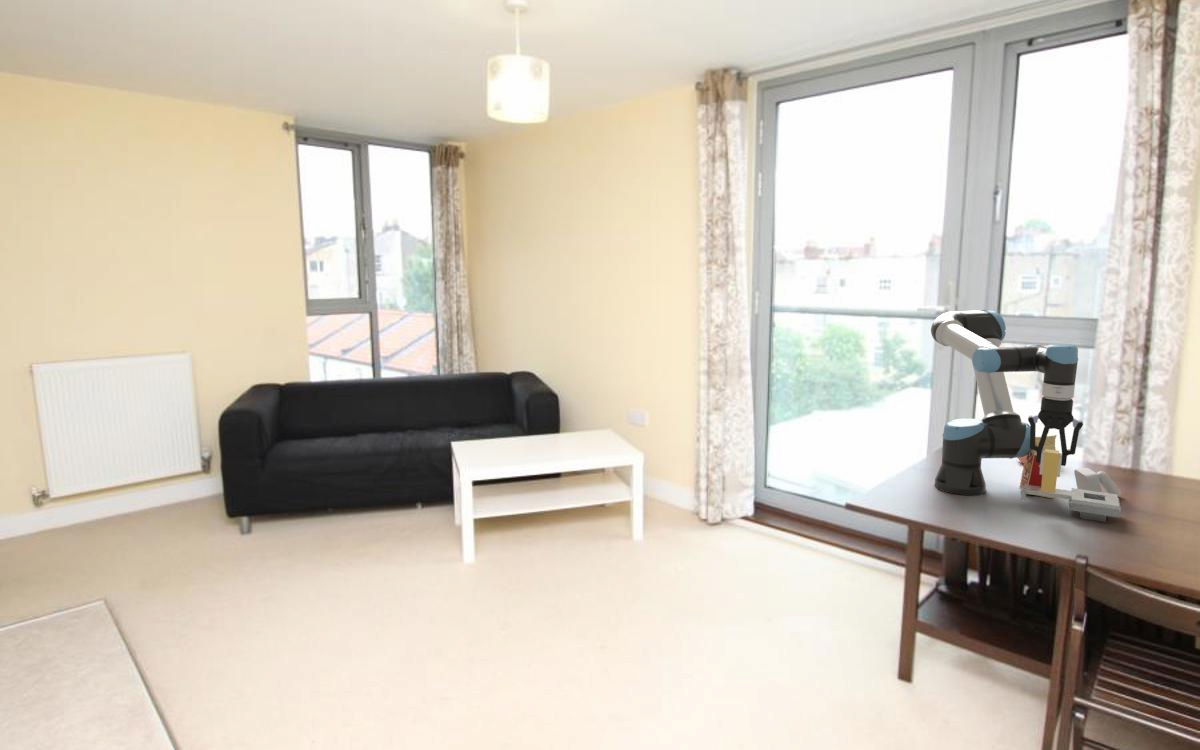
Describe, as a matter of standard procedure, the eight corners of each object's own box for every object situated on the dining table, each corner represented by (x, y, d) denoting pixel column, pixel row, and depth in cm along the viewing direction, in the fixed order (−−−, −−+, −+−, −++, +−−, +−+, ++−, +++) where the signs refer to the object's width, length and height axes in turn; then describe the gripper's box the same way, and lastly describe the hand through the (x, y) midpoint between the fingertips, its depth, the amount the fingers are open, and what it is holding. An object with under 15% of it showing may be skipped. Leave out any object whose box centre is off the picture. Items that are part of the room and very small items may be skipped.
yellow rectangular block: (1040, 490, 193) (1044, 452, 191) (1041, 487, 196) (1045, 448, 194) (1055, 492, 191) (1059, 453, 189) (1055, 489, 194) (1059, 450, 192)
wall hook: (1128, 499, 204) (1123, 469, 203) (1092, 505, 206) (1086, 476, 205) (1114, 490, 211) (1108, 462, 210) (1079, 497, 214) (1073, 468, 213)
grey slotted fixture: (1019, 511, 199) (1020, 492, 198) (1021, 499, 209) (1023, 480, 208) (1119, 527, 185) (1121, 507, 184) (1117, 513, 195) (1119, 494, 194)
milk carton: (1047, 487, 216) (1060, 431, 211) (1054, 499, 208) (1067, 440, 203) (1016, 482, 220) (1027, 427, 214) (1021, 493, 212) (1033, 436, 206)
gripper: (1022, 397, 190) (1015, 473, 194) (1093, 403, 180) (1084, 483, 185) (1024, 392, 196) (1017, 466, 200) (1092, 397, 186) (1084, 475, 191)
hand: (1049, 474), depth 193 cm, fingers closed on yellow rectangular block, 3 cm apart
